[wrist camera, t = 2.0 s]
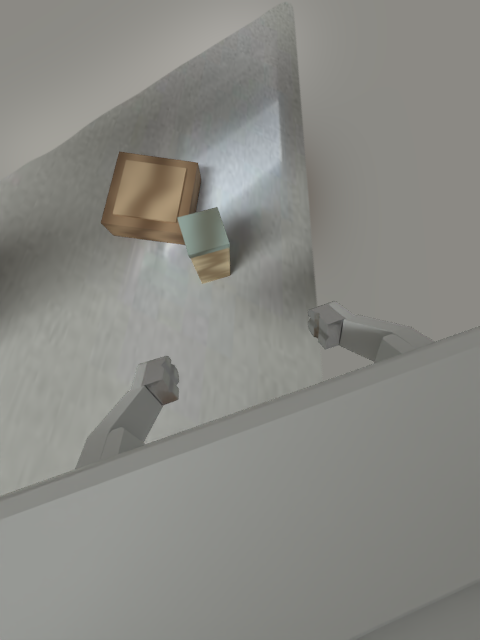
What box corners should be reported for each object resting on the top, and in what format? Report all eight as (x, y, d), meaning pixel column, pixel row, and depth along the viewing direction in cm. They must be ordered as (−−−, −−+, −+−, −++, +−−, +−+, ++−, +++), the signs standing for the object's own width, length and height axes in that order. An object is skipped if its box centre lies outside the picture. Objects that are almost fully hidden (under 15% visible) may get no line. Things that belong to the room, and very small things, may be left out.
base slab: (113, 235, 30) (99, 221, 26) (129, 170, 32) (118, 149, 28) (189, 245, 30) (184, 233, 27) (201, 180, 32) (197, 161, 29)
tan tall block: (202, 284, 29) (188, 255, 20) (193, 257, 30) (177, 217, 21) (230, 275, 29) (229, 243, 20) (221, 249, 30) (217, 207, 21)
